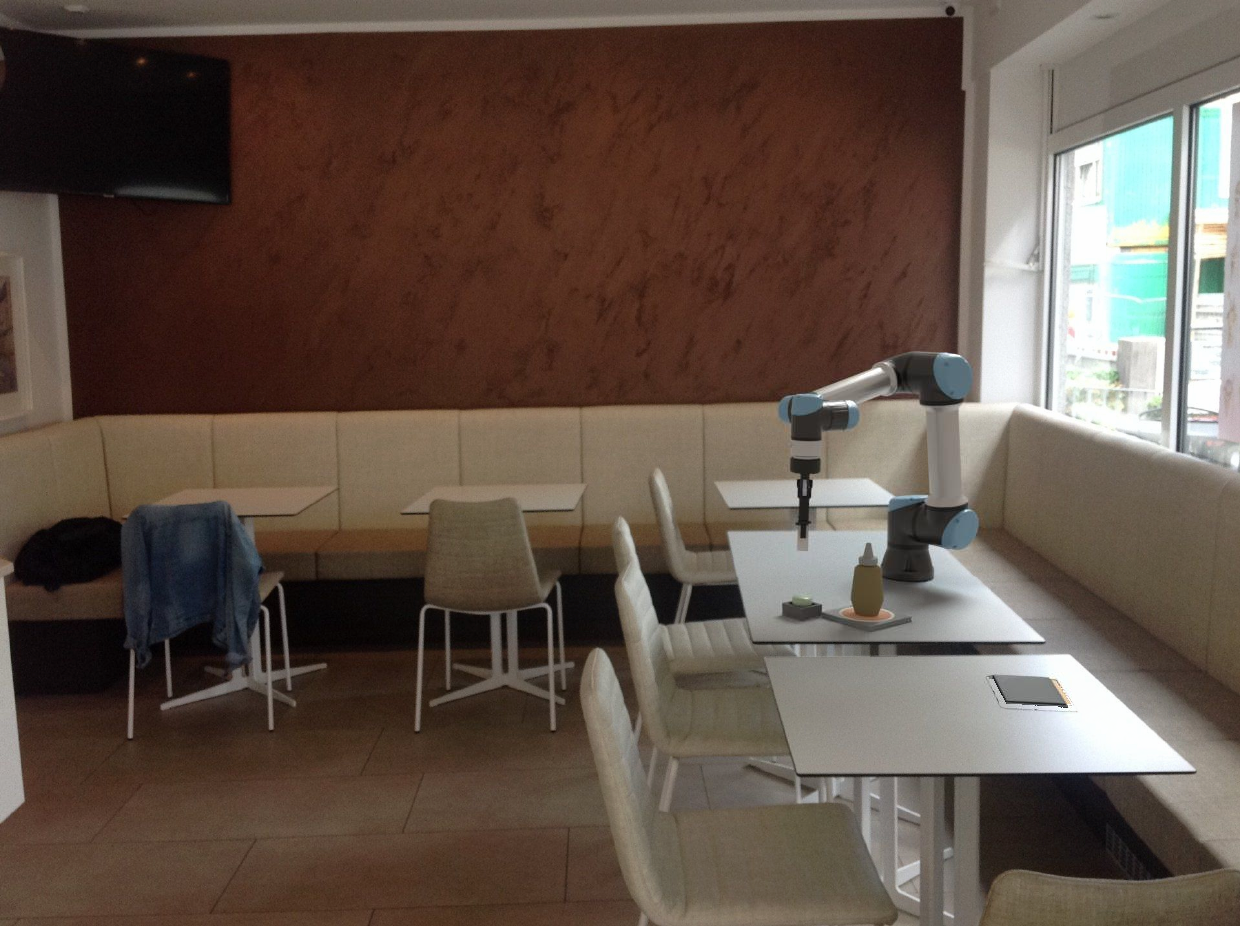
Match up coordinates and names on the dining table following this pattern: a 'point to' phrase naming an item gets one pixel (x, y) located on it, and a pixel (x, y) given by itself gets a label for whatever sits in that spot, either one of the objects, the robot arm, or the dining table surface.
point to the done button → (802, 600)
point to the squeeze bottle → (867, 585)
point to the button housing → (802, 611)
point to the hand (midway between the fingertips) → (802, 550)
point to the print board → (866, 618)
